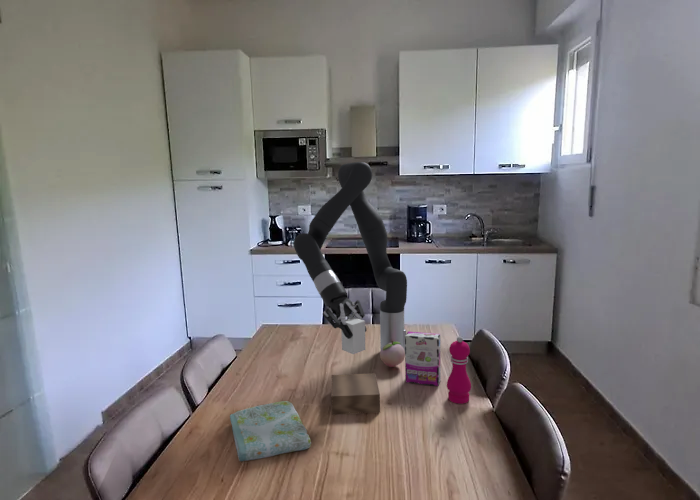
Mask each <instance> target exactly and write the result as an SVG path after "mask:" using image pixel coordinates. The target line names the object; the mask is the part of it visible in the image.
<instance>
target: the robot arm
mask: <svg viewBox="0 0 700 500" xmlns="http://www.w3.org/2000/svg"><path fill="white" fill-rule="evenodd" d="M337 178H338V182H339V184H340V187H341V188H340V190H338V191H337V193H335V195H333V196H332V197H331V198H330V199H329V200H328V201H326V202H325V203H324V204H323V205H322V206H321V207H320V209H319V210H318V211H317V212H316V214H315V215H314V217H313V218H312V219H311V221H310V223H309V225H308V233H306V232H304V233H300V234H298V235H297V236H296V237H295V238H294V240H293V248H294V251H295V253H296V255H297V257H298V258H299V259H300V260H301V261H302V263H303V264H304V265H305V268H306V270H307V273H308V275H309V277H310V280H312V282H313V283H314V286H315V289H316V291H317V292H318V294H319V296H320V297H321V299H322V301H323V302H324V303H323V304H324V305H325V306H326V307H327V308H326V309H325V310H324V311H323V313H322V316H323V318H325V319H326V321H328V323H329V324H330V325H331V326H332V328H333V329H337V328H338V329H339V330H342V332H343V333H344V335H345V336H346V337H347V338H348V339H350V338H351V337H352V336H353V334H352V332H351V330H350V329H349V327H348V325H346V321H345V320H346V317H347V319H349V318H353V317H354V318H357V319H361V320H363V318H365V316H366V314H365V311H364V309H363V306H362V304H361V301H360V300H359V299H356V300H355V301H352V300H351V299H350V298H349V296H348V291H347V290H346V288H345V286H343V283H342V282H341V281H340V279H339V277H338V275H336V273H335V272H334V270H333V269H332V267H331V266H330V264H329V263H328V260H326V258H325V256H324V255H323V253H322V251H321V250H322V247H323V246H324V244H325V242H326V239H327V236H328V235H329V234H330V232H331V231H332V229H333V228H334V226H335V225H336V224H337V222H338V220H339V219H340V218H341V216H342V215H343V214H344V212H346V210H347V209H348V208H349V206H350V208H351V211H352V213H353V216H354V219H355V221H356V225H357V227H358V231H359V233H360V237H361V239H362V242H363V243H364V247H365V250H366V252H367V255H368V257H369V261H370V264H371V267H372V273H373V275H374V279H375V282H376V286H378V289H380V290H381V291H384V292H385V299H383V300H382V301H381V302H380V304H379V322H380V323H379V327H380V330H379V331H380V332H379V333H380V334H379V335H380V339H379V341H380V347H379V348H380V350H381V349H382V348H383V347H384V346H385V345H387V344H389V343H392V341H393V342H395V341H396V342H400V343H401V344H399V345H401V346H402V347H403V348H404V350H405V335H406V334H407V329H406V328H405V305H406V303H407V299H408V297H407V296H408V295H407V293H408V279H407V276H406V273H405V272H404V271H402V270H400V269H397V268H393V266H392V264H391V262H390V260H389V257H388V254H387V246H388V233H387V229H386V227H385V223H384V221H383V218H382V215H380V214H379V212H378V211H377V209H376V208H374V206H373V205H372V204H371V202H370V201H369V200H368V198H367V197H366V195H365V193H364V191H365V190H366V188H367V187H369V185H370V184H371V182H372V178H373V171H372V167H370V165H369V164H368V163H366V162H364V161H354V162H348V163H344V164H342V165H341V166H340V167H339V169H338V172H337ZM366 332H367V327H366V325H365V333H366Z"/></svg>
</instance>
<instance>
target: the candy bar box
mask: <svg viewBox="0 0 700 500" xmlns="http://www.w3.org/2000/svg"><path fill="white" fill-rule="evenodd" d="M404 360H405V363H404V364H405V374H404V375H405V376H404V377H405V383H409V384H415V385H424V386H435V387H439V385H440V382H441V377H442V375H441V373H442V372H441V365H442V364H441V333H433V332H419V331H406V335H405V357H404Z"/></svg>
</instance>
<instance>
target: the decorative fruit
mask: <svg viewBox="0 0 700 500" xmlns="http://www.w3.org/2000/svg"><path fill="white" fill-rule="evenodd" d="M399 344H401V343H400V342H396V341H395V342H393V341H392V343H389V344H387V345H385V346H384V347H383V348H382V349H381V348H380V351H379V357H380V360H381V362H383V364H385V366H387V367H390V368H394V367H396V366H398V365H400V364H402V363H403V362H404V360H405V350H404V348H403V347H402V346H401V345H399Z"/></svg>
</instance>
